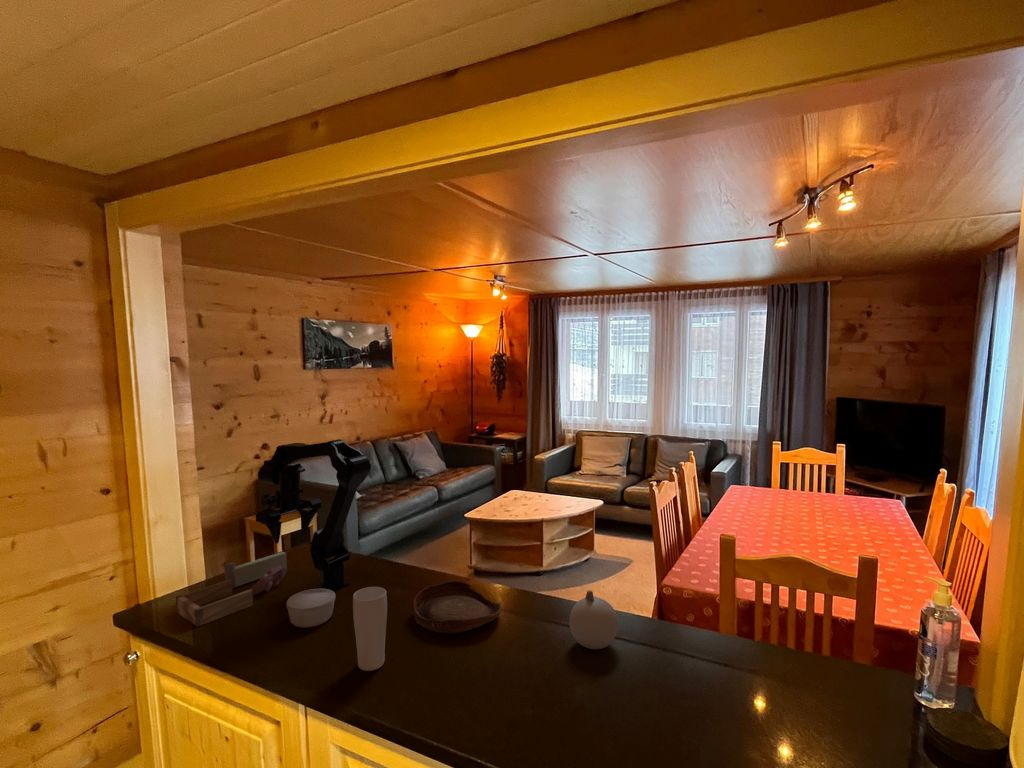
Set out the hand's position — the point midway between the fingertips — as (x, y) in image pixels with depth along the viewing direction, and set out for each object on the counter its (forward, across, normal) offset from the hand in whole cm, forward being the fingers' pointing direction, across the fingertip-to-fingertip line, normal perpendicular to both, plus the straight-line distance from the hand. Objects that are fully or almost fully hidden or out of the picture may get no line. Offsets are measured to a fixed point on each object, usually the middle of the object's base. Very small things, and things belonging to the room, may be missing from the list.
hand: (290, 538), depth 150 cm
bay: (+11, +22, 0) cm, 25 cm away
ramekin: (+11, +15, +27) cm, 33 cm away
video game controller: (+11, +9, +2) cm, 14 cm away
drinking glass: (+10, +23, +54) cm, 59 cm away
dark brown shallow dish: (+10, -2, +58) cm, 59 cm away
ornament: (+9, -5, +92) cm, 93 cm away
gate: (+11, +7, -6) cm, 14 cm away
